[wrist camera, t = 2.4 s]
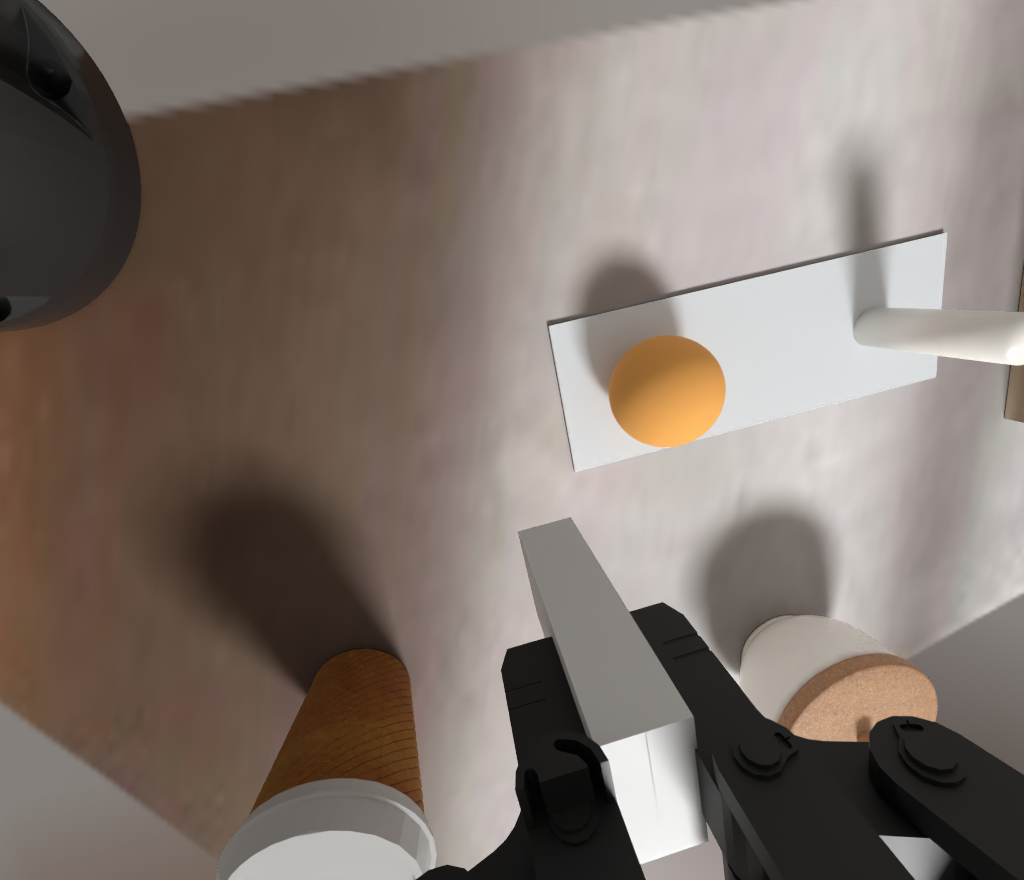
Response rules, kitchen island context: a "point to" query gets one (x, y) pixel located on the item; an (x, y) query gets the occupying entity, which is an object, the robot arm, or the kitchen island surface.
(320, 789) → the disposable coffee cup
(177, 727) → the kitchen island surface
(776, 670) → the lidded jar
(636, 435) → the ball
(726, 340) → the plate
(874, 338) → the pin
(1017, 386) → the backstop
